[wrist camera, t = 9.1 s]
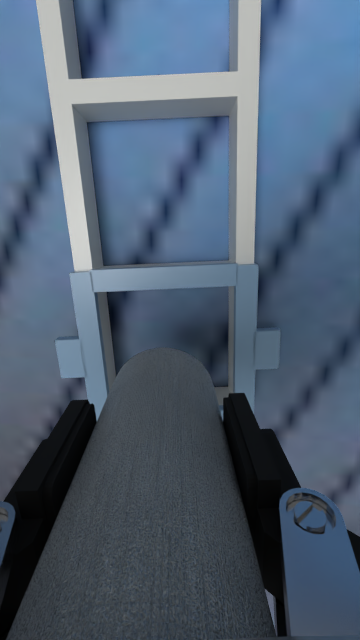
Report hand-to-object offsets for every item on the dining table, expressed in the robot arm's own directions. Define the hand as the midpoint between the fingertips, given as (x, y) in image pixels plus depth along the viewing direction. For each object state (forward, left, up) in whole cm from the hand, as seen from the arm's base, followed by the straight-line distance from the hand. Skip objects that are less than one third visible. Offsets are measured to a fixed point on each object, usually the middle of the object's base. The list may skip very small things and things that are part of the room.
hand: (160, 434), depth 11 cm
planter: (0, 0, -3) cm, 3 cm away
